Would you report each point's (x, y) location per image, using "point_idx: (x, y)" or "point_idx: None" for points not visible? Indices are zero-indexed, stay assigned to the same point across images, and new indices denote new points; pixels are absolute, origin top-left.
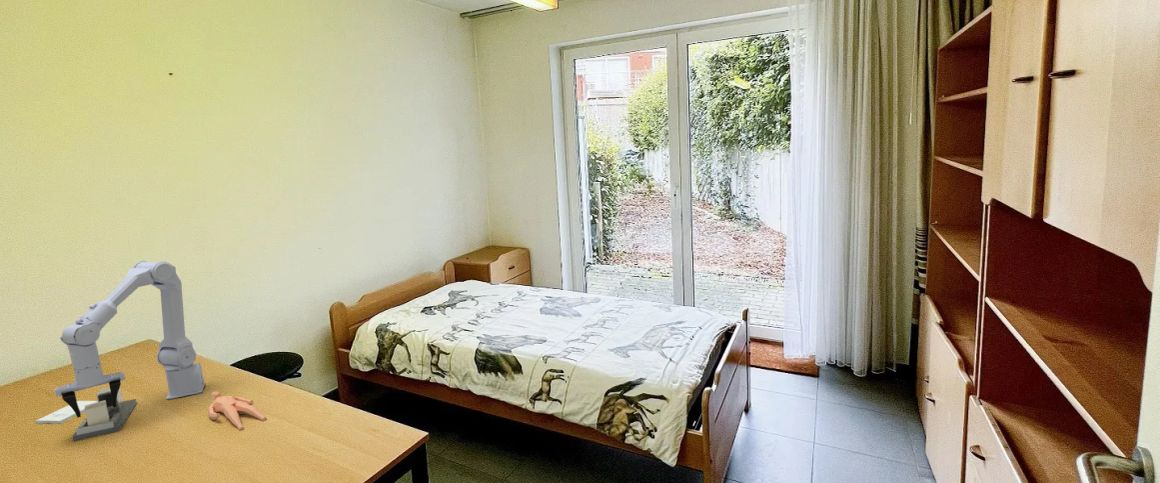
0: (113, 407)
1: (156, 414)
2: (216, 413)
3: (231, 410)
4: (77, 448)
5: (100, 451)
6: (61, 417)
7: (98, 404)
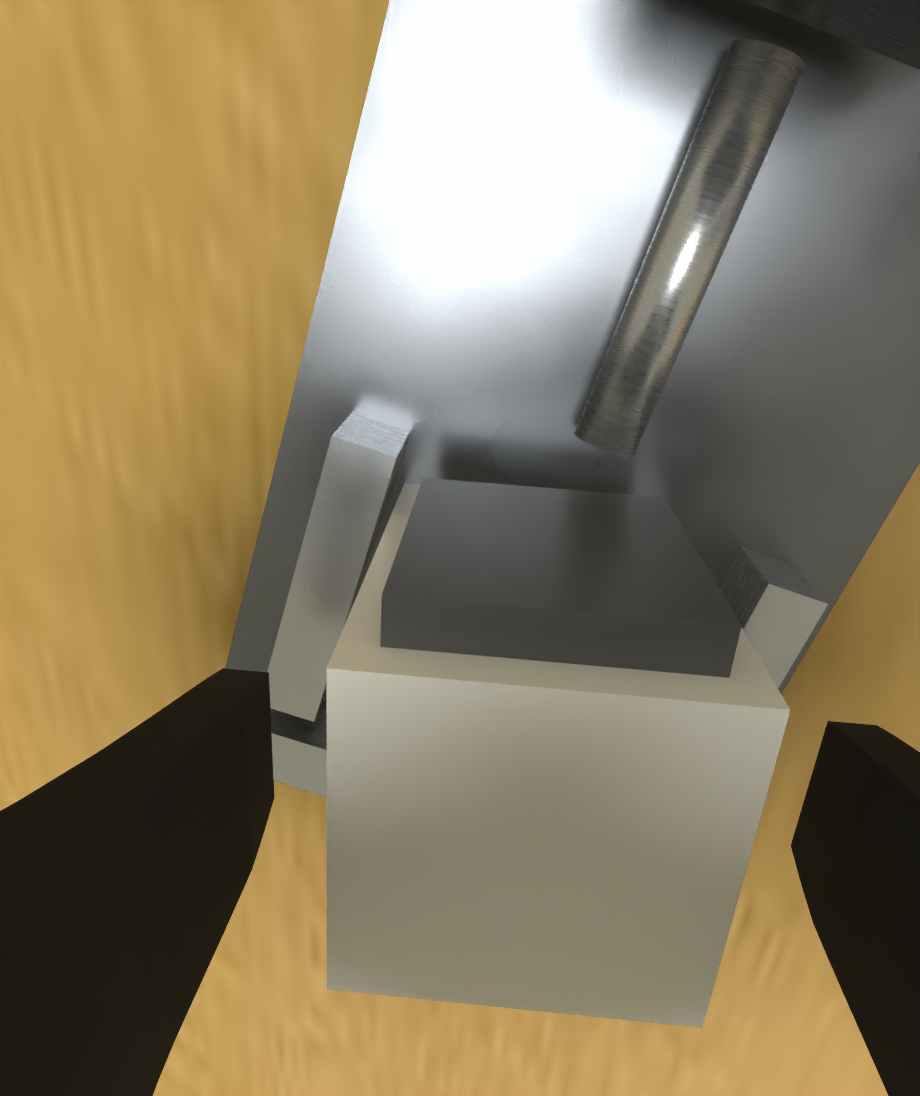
0: (795, 851)
1: None
2: None
3: None
4: (286, 881)
5: (451, 1084)
6: None
7: (594, 870)
